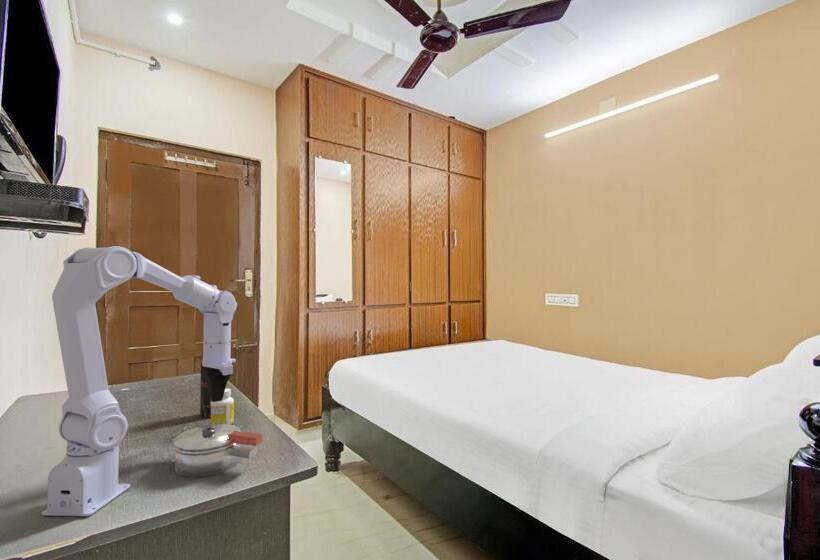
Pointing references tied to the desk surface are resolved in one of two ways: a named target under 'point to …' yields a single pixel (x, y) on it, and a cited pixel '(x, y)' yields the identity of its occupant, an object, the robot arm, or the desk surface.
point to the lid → (214, 437)
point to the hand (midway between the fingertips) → (216, 400)
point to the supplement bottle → (223, 410)
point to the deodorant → (204, 397)
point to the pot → (210, 459)
